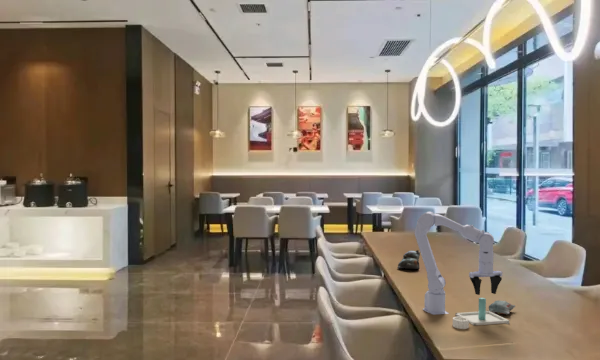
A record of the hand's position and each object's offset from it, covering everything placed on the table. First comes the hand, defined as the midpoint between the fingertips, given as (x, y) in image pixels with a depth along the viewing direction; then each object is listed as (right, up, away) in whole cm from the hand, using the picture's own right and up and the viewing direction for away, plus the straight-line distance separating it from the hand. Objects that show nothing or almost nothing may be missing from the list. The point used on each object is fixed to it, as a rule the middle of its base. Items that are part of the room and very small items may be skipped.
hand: (485, 293), depth 209 cm
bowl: (-14, -11, -12) cm, 22 cm away
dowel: (-2, -10, -3) cm, 10 cm away
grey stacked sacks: (-10, -8, +103) cm, 104 cm away
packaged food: (+11, -11, +9) cm, 17 cm away
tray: (-2, -10, -2) cm, 11 cm away
